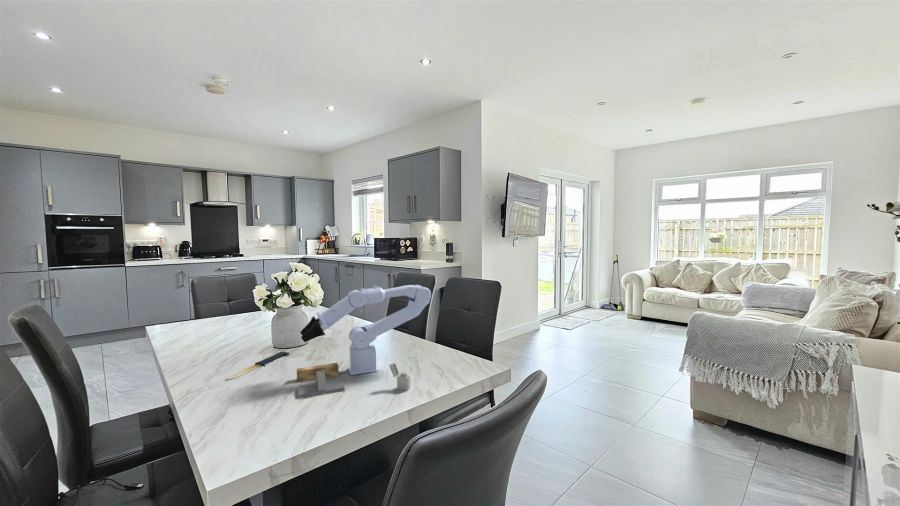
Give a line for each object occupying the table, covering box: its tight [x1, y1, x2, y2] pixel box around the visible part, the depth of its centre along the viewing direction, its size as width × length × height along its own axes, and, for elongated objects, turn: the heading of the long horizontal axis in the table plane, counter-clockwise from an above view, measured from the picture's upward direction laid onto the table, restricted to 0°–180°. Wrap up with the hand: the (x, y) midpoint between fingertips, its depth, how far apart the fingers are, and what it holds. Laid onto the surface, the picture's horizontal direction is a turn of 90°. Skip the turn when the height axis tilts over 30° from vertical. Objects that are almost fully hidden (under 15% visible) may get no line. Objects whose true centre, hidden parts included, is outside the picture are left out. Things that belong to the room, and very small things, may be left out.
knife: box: [226, 351, 290, 381], centre depth 145 cm, size 4×2×30 cm
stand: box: [297, 371, 346, 399], centre depth 122 cm, size 14×8×5 cm, turn 114°
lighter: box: [389, 362, 411, 392], centre depth 122 cm, size 7×2×8 cm, turn 66°
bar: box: [296, 362, 340, 382], centre depth 133 cm, size 14×3×4 cm, turn 115°
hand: (302, 337), depth 130 cm, fingers open, 7 cm apart
